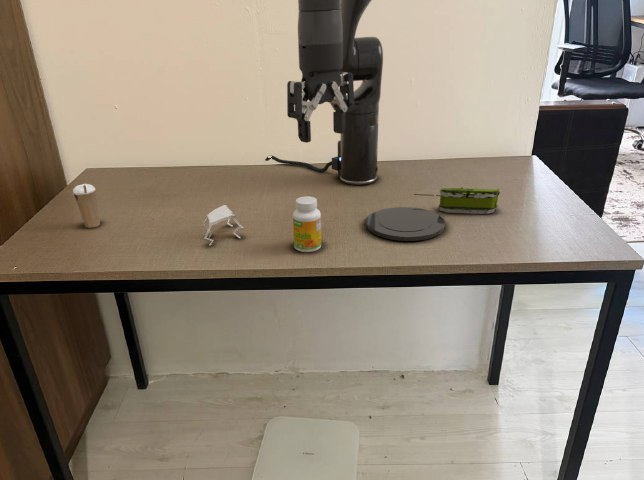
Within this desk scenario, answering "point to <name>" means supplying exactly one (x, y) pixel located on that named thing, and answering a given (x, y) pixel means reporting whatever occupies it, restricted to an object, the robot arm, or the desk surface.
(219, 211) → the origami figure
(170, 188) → the desk surface
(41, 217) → the desk surface
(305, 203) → the supplement bottle
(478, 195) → the toy tank
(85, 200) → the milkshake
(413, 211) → the plate
